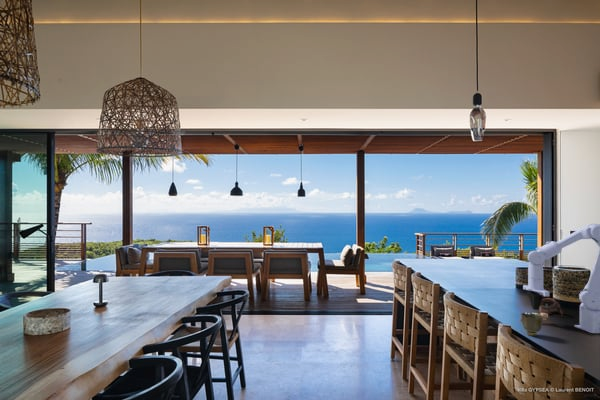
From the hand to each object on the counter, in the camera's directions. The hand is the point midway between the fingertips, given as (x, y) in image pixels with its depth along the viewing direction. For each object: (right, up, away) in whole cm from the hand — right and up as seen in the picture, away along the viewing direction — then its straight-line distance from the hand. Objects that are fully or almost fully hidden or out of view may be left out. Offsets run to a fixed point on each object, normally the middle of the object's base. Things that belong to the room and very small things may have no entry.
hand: (535, 309), depth 167 cm
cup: (-12, -5, -17) cm, 22 cm away
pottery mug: (+17, -7, +17) cm, 25 cm away
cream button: (-4, -3, 0) cm, 5 cm away
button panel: (0, -6, 0) cm, 6 cm away
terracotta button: (+4, -4, 0) cm, 5 cm away
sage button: (0, -4, 0) cm, 3 cm away
